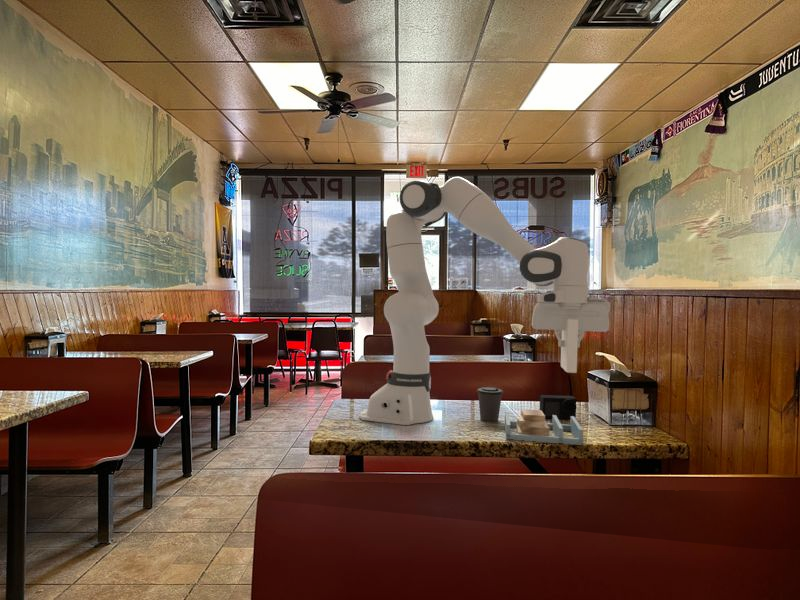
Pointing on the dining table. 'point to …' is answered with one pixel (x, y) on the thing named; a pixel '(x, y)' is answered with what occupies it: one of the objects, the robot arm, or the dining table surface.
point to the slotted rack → (555, 426)
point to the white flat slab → (570, 346)
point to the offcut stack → (532, 423)
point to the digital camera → (558, 406)
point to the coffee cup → (489, 403)
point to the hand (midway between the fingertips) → (568, 347)
